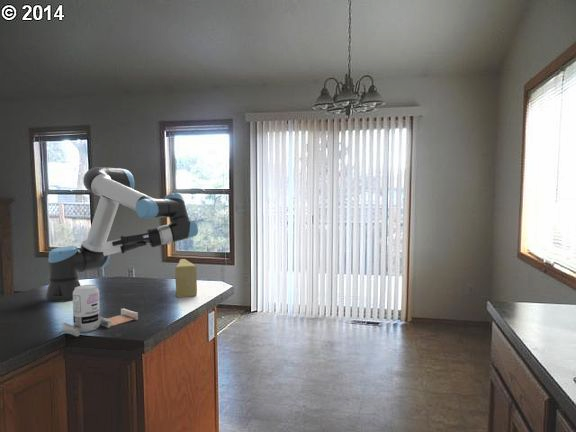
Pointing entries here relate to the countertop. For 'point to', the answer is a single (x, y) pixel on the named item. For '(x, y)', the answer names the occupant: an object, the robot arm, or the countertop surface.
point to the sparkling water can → (86, 308)
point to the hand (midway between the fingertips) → (102, 249)
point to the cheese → (186, 279)
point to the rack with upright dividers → (105, 321)
